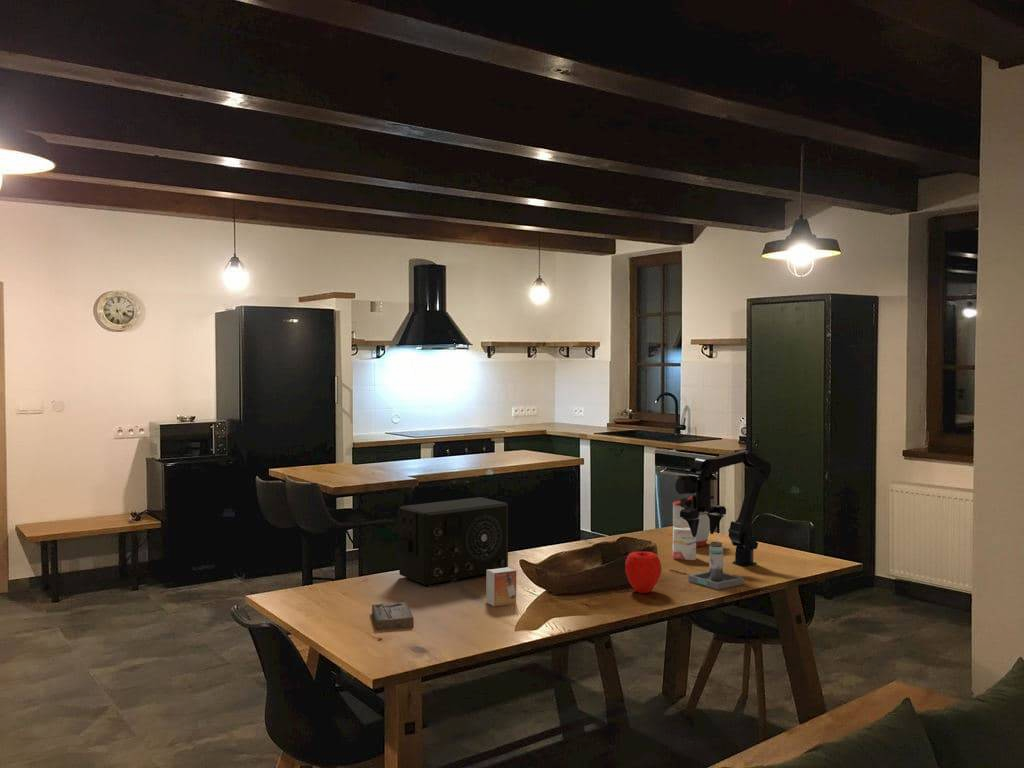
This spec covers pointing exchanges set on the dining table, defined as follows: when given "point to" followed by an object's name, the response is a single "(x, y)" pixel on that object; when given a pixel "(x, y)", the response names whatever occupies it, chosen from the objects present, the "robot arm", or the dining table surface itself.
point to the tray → (727, 582)
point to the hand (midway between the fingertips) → (703, 535)
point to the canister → (716, 562)
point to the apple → (643, 570)
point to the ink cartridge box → (683, 541)
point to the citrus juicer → (702, 526)
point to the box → (392, 616)
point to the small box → (501, 586)
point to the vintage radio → (452, 539)
